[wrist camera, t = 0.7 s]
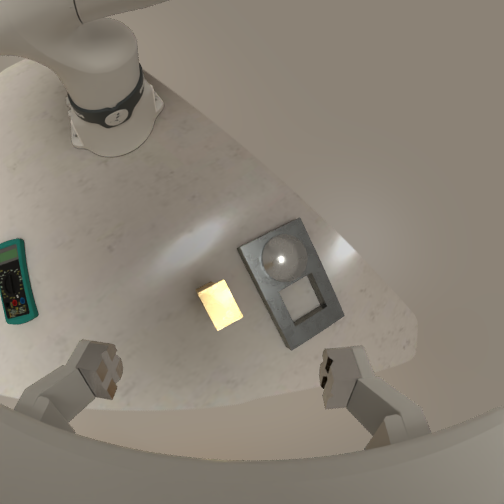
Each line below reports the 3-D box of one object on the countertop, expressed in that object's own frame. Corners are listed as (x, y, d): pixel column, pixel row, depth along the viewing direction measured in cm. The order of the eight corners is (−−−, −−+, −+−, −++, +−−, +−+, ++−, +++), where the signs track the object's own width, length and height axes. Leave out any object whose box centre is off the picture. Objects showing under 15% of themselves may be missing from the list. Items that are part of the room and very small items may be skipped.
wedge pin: (192, 287, 48) (197, 293, 35) (210, 277, 49) (224, 279, 36) (206, 314, 48) (217, 330, 35) (225, 304, 49) (243, 316, 36)
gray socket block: (236, 248, 50) (240, 246, 47) (294, 219, 54) (301, 216, 50) (286, 347, 51) (293, 351, 48) (337, 314, 55) (346, 316, 51)
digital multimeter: (13, 325, 39) (5, 327, 36) (-3, 247, 39) (-10, 246, 36) (41, 318, 41) (34, 320, 38) (24, 238, 41) (17, 236, 38)
